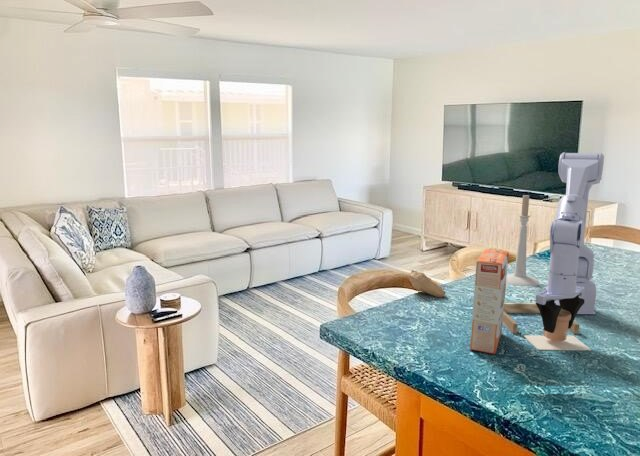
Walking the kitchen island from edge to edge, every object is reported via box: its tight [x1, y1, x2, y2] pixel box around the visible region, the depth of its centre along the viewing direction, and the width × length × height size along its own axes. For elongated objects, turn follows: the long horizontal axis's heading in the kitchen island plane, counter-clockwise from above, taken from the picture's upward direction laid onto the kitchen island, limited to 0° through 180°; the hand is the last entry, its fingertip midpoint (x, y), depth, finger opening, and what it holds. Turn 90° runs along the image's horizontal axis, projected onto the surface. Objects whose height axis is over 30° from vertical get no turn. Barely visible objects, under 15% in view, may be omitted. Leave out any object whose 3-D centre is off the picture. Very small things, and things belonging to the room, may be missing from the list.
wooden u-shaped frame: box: [502, 302, 580, 335], centre depth 126 cm, size 16×16×2 cm
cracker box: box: [469, 248, 510, 355], centre depth 112 cm, size 14×6×21 cm, turn 154°
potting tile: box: [523, 334, 592, 351], centre depth 113 cm, size 12×8×1 cm, turn 89°
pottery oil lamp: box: [407, 269, 446, 298], centre depth 148 cm, size 9×12×7 cm
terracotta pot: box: [542, 309, 571, 341], centre depth 112 cm, size 6×6×6 cm
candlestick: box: [506, 194, 540, 287], centre depth 159 cm, size 13×13×30 cm
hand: (557, 329), depth 112 cm, fingers closed on terracotta pot, 5 cm apart
